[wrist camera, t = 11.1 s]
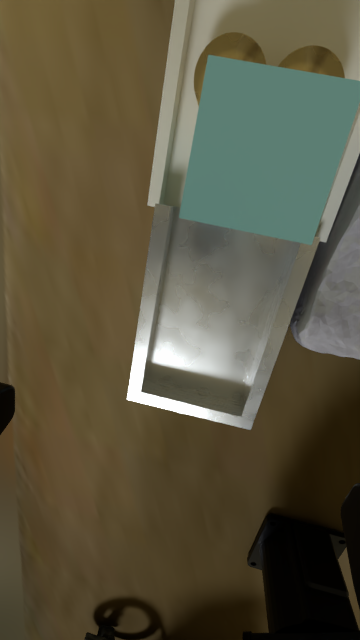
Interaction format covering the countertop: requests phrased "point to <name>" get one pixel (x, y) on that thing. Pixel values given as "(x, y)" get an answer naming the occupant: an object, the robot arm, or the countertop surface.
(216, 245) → the channel
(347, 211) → the stone block
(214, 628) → the countertop surface
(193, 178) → the mint green brick
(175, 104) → the chip tray
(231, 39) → the chip
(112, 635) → the milk frother
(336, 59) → the chip
